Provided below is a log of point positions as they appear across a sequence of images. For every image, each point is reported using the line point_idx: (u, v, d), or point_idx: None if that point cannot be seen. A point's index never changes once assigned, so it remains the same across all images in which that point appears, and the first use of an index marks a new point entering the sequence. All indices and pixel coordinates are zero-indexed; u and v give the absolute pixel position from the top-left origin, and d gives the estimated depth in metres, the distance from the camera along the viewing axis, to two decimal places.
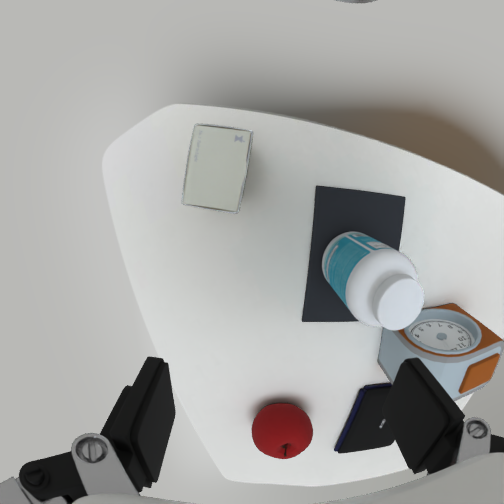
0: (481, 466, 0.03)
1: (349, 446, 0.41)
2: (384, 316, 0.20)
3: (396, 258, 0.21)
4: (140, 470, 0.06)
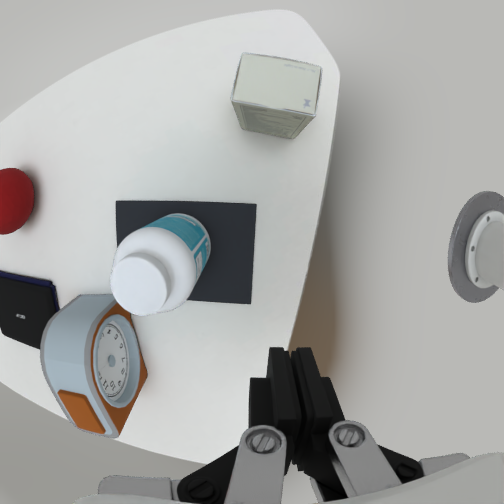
0: (481, 466, 0.03)
1: None
2: (124, 266, 0.18)
3: (186, 279, 0.21)
4: None
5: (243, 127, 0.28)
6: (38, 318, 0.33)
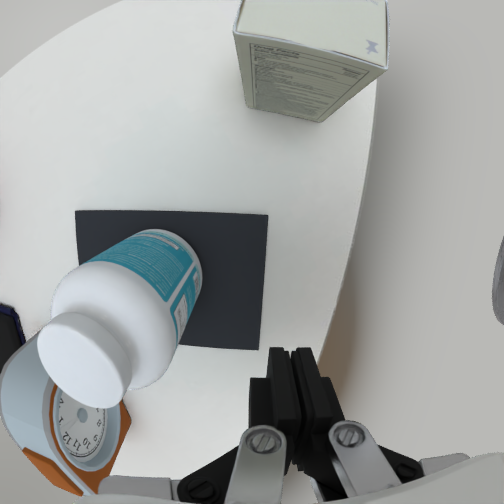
0: (481, 466, 0.03)
1: None
2: (51, 338, 0.09)
3: (159, 352, 0.12)
4: None
5: (249, 103, 0.18)
6: (4, 349, 0.24)
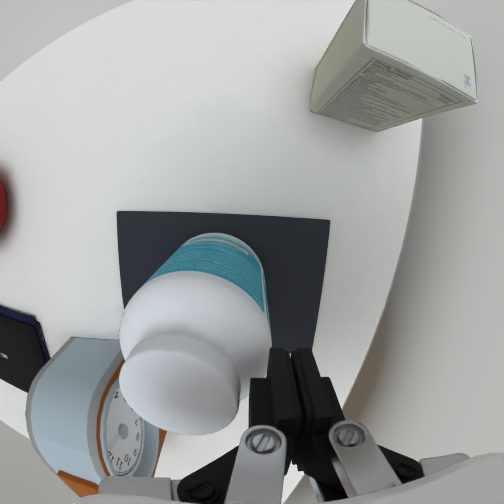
0: (481, 466, 0.03)
1: None
2: (146, 366, 0.09)
3: (261, 367, 0.12)
4: None
5: (317, 108, 0.18)
6: (22, 360, 0.23)
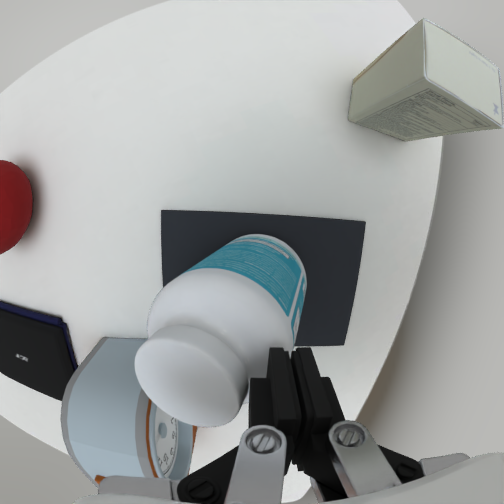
0: (481, 466, 0.03)
1: None
2: (158, 353, 0.09)
3: None
4: None
5: (357, 118, 0.19)
6: (46, 362, 0.24)
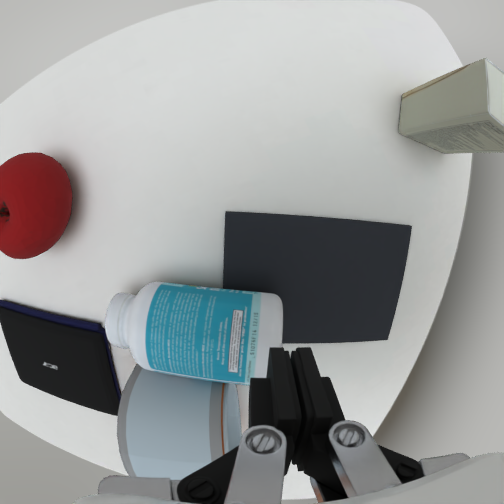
0: (481, 466, 0.03)
1: (8, 321, 0.24)
2: None
3: None
4: None
5: (408, 132, 0.20)
6: (80, 371, 0.25)
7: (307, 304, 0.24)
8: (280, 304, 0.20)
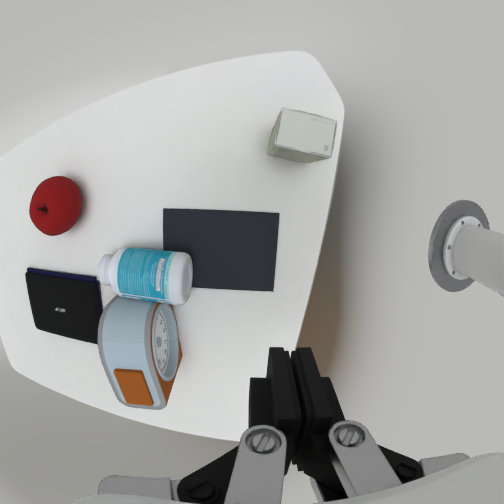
0: (481, 466, 0.03)
1: (33, 281, 0.40)
2: None
3: None
4: None
5: (271, 154, 0.37)
6: (80, 310, 0.42)
7: (211, 262, 0.42)
8: (185, 256, 0.37)
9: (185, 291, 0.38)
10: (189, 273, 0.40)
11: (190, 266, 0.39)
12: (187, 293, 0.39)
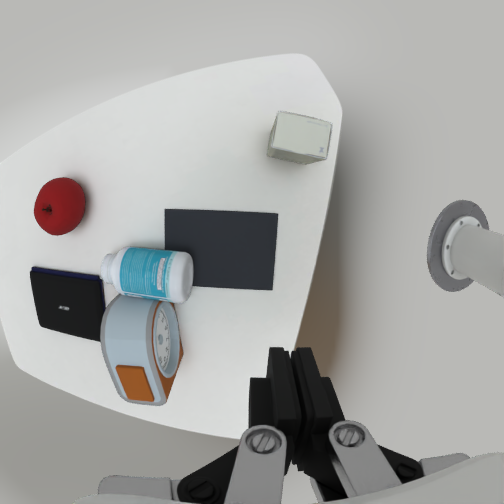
0: (481, 466, 0.03)
1: (38, 280, 0.42)
2: None
3: None
4: None
5: (269, 155, 0.38)
6: (83, 308, 0.43)
7: (212, 261, 0.43)
8: (185, 256, 0.38)
9: (186, 290, 0.39)
10: (190, 272, 0.41)
11: (191, 265, 0.40)
12: (188, 292, 0.40)
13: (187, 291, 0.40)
